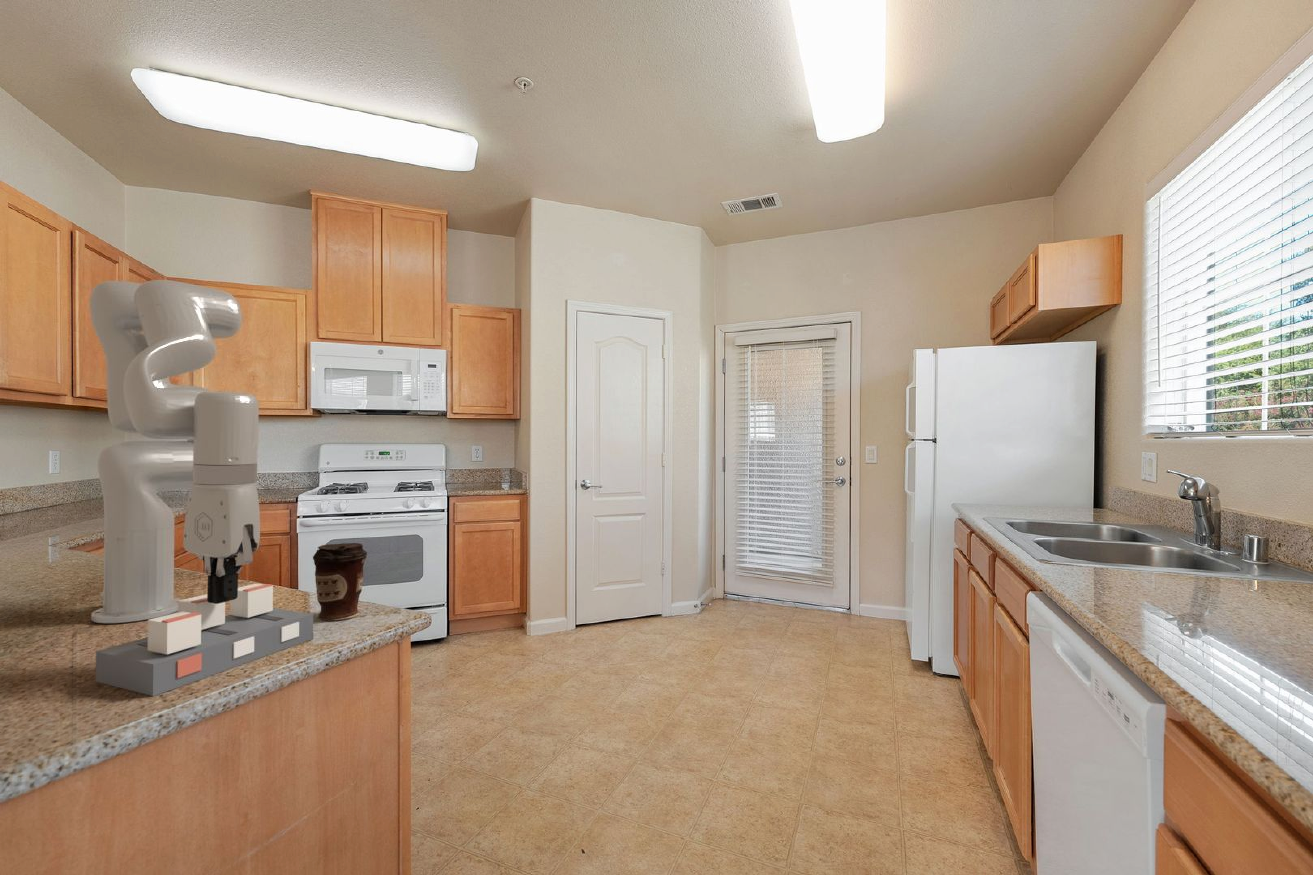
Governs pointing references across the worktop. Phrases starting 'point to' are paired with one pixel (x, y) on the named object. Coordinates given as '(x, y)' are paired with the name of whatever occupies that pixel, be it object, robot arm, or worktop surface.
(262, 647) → the console
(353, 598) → the coffee cup
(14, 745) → the worktop surface
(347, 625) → the worktop surface
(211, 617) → the white red-striped block
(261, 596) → the white red-striped block
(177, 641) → the white box
